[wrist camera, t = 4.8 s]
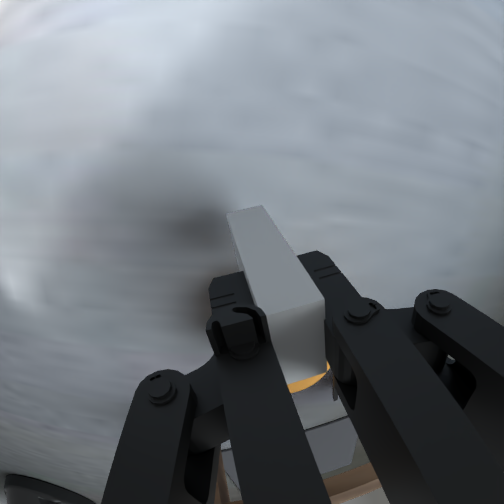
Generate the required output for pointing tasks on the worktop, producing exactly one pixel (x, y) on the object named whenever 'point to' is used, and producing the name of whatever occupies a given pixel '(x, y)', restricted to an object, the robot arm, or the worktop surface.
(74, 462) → the worktop surface
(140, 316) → the worktop surface
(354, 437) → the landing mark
